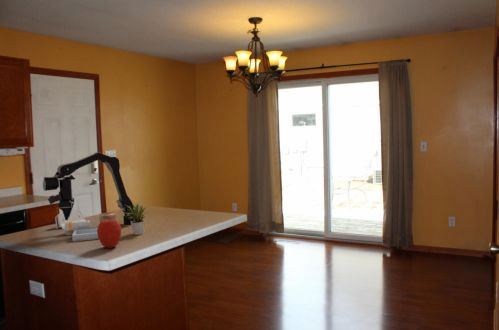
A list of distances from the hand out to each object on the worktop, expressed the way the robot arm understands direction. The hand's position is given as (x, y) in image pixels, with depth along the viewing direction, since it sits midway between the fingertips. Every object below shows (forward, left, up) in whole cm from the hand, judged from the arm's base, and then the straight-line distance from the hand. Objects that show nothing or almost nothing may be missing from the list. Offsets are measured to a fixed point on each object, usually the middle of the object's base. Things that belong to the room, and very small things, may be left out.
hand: (67, 218), depth 215 cm
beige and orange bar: (-5, 0, -6) cm, 8 cm away
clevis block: (-11, 0, -8) cm, 14 cm away
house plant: (-34, +15, -8) cm, 38 cm away
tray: (-12, +13, -8) cm, 20 cm away
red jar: (-21, +39, -8) cm, 45 cm away
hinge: (+1, -22, -9) cm, 24 cm away
